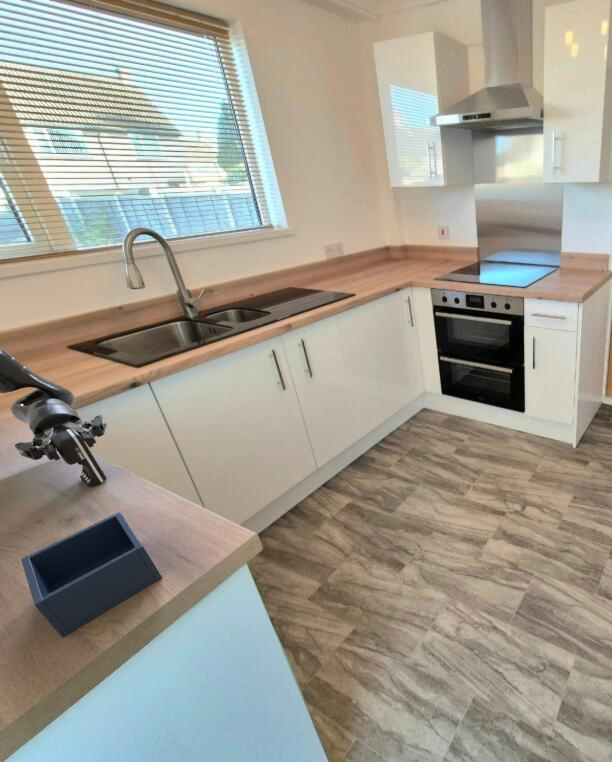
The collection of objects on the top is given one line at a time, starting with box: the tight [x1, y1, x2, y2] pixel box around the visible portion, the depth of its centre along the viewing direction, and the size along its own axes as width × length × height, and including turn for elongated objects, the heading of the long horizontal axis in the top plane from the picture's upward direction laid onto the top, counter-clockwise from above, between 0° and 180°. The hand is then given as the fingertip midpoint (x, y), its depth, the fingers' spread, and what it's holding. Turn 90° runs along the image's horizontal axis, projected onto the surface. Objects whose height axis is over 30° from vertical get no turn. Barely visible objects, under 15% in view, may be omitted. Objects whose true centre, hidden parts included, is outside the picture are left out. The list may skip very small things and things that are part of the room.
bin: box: [21, 511, 163, 638], centre depth 64 cm, size 12×13×7 cm
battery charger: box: [52, 429, 108, 487], centre depth 87 cm, size 7×4×11 cm, turn 55°
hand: (72, 449), depth 84 cm, fingers open, 4 cm apart
